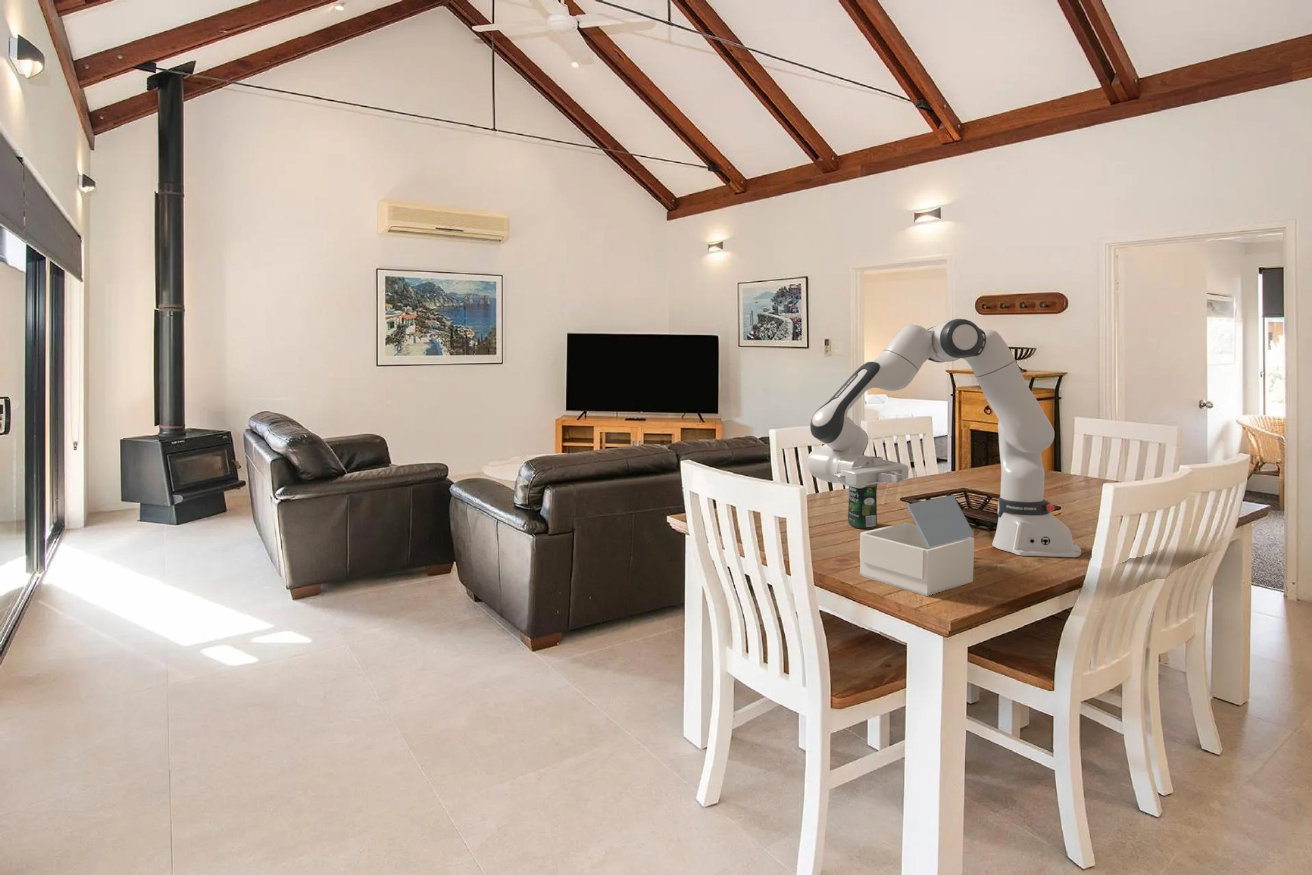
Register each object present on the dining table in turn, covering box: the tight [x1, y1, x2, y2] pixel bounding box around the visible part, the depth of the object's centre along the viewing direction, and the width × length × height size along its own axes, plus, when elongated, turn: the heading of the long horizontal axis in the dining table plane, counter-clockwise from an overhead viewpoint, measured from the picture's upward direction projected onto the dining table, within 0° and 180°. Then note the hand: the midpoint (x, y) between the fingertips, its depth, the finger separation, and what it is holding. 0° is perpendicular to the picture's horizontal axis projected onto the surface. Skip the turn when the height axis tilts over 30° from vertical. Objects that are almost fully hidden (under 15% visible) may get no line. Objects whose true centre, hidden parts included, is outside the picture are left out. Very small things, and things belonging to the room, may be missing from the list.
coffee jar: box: [847, 484, 878, 530], centre depth 246 cm, size 10×8×19 cm
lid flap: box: [906, 494, 975, 548], centre depth 185 cm, size 11×17×1 cm
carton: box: [859, 522, 975, 597], centre depth 192 cm, size 21×19×11 cm
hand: (900, 478), depth 194 cm, fingers closed
